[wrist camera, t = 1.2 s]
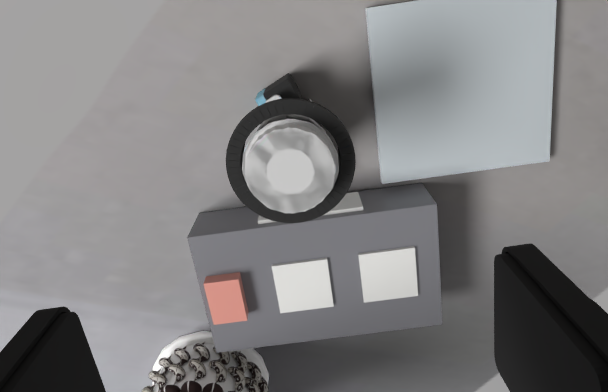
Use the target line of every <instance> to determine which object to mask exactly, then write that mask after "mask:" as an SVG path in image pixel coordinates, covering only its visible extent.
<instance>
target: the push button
mask: <svg viewBox="0 0 608 392" xmlns="http://www.w3.org/2000/svg"><path fill="white" fill-rule="evenodd" d="M255 100H256V102H257V104H258V107H256V108H255V109H253V110H252V111H251V112H249V113H248V114H247V115H246V116H245V117H244V118H243V119H242V120H241V121H240V123H239V124H238V125H237V127H236V128H235V130H234V132H233V134H232V136H231V138H230V141H229V144H228V148H227V153H226V169H227V174H228V178H229V181H230V184H231V186H232V188H233V190H234V192H235V193H236V195H237V196H238V198H239V199H240V200H241V201H242V202H243V203H244V204H245V205H246V206H247V207H248V208H249V209H250V210H252V211H253V212H254V213H256V214H258V215H260V216H261V217H264V218H266V219H269V220H272V221H276V222H281V223H301V222H307V221H310V220H313V219H316V218H318V217H320V216H322V215H324V214H326V213H327V212H329V211H330V210H332V209H333V208H334V207H335V206H336V205H337V204H338V203H339V202H340V201H341V200H342V199H343V197H344V196H345V194H346V193H347V191H348V189H349V187H350V185H351V183H352V180H353V176H354V171H355V152H354V147H353V144H352V141H351V138H350V136H349V134H348V132H347V130H346V128H345V127H344V125H343V124H342V122H341V121H340V120H339V119H338V118H337V117H336V116H335V115H334V114H333V113H332V112H330V111H329V110H328V109H326V108H324V107H323V106H321V105H319V104H317V103H314V102H312V100H311V99H309V101H308V100H304V99H302V98H301V96H300V93H299V90H298V87H297V85H296V83H295V82H294V80H293V79H292V77H291V75H290V74H289V73H288V74H286V75H285V76H283V77H282V78H280V79H279V80H277V81H276V82H274V83H273V84H271V85H270V86H268V87H267V88H265V89H263V90H262V91H260V92H259V93H258V95H257V97H256V99H255ZM259 124H261V126H260V127H259V128H258V130H257V132H256V133H255V134H254V135H253V136H252V138H251V139H250V141H249V143H248V145H247V146H246V148H245V150H244V146H245V141H246V139H247V137H248V136H249V134H250V133H251V132H252V131H253V130H254V129H255V128H256V127H257V126H258V125H259ZM321 125H323V126H324V127H325V128H326V129H327V130H328V131H329V132H330V133H331V134H332V136H333V137H334V139H335V140H336V143H337V145H338V154H337V150H336V148H335V147H334V145H333V143H332V141H331V139H330V138H329V136H328V135H327V134H326V132H325V130H324V129H323V128H322V127H321Z"/></svg>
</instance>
